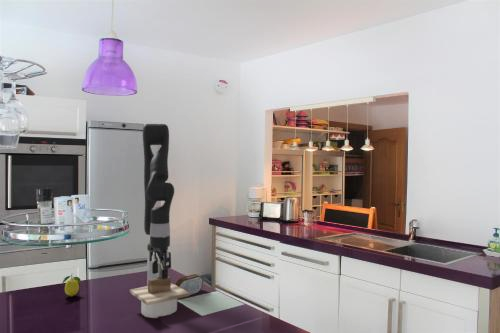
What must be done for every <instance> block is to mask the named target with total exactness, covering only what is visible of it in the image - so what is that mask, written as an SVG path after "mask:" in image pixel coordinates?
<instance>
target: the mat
mask: <svg viewBox="0 0 500 333" xmlns="http://www.w3.org/2000/svg"><path fill="white" fill-rule="evenodd" d="M177 303H180V304H182V305H183V306H184V307H186V308H188V309H190V310H192V311H193V312H195V313H196V314H198V315H200V316H202V317H203V316H206V315H211V314H213V313H217V312H222V311H226V310H228V309H229V310H230V309H232V308H236V307H240V306H244V305H245V303H243V302H241V301H239V300H236V299H235V298H233V297H231V296H229V295H226V294H225V293H222V292H221V291H218V290H216V291H212V292H207V293H203V294H199V295H194V296H189V297H184V298H180V299H177Z"/></svg>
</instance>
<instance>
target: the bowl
mask: <svg viewBox="0 0 500 333" xmlns="http://www.w3.org/2000/svg"><path fill="white" fill-rule="evenodd" d="M177 300H178V299H174V300H169V301H165V302H160V303H156V304H152V305H146V304H145V303H143V302H142V301H141V300H140V302H141V303H140V305H141V306H140V307H141V309H140V312H141V314H140V315H142V316H144V317H145V318H151V319H158V318H159V317H164V316H169V315H172V314H173V313H175V312H177V309H178V301H177Z"/></svg>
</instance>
